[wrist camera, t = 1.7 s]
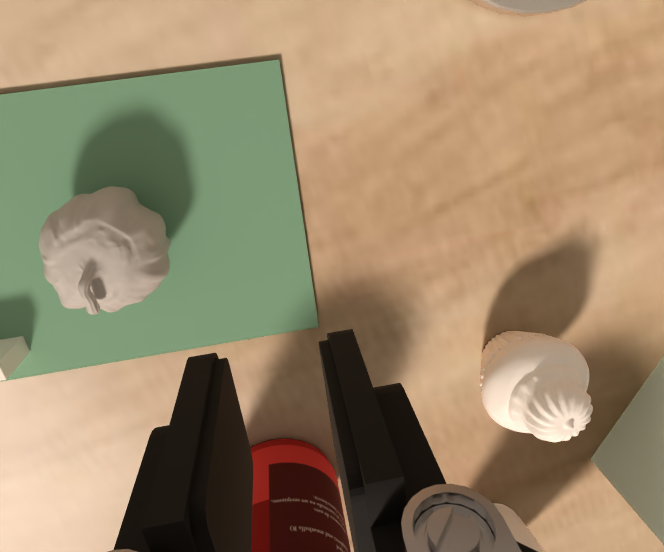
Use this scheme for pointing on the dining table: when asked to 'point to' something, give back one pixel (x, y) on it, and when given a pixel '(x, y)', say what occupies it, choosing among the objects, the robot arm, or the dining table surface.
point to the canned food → (295, 500)
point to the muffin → (535, 385)
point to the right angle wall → (639, 452)
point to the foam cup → (518, 528)
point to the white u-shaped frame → (11, 355)
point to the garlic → (104, 250)
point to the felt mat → (158, 211)
